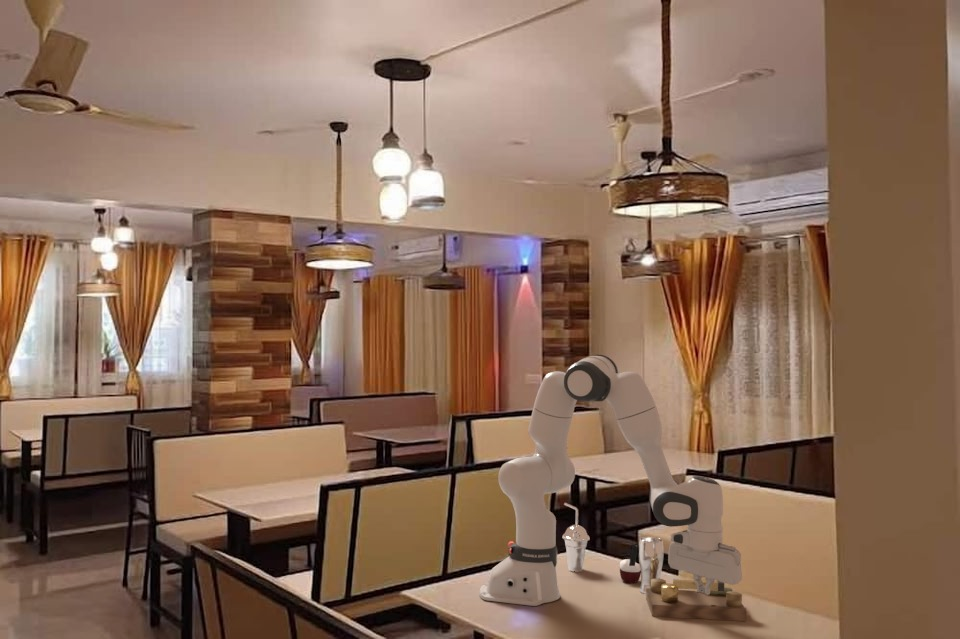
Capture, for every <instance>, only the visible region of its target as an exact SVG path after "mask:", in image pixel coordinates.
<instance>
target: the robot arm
mask: <svg viewBox="0 0 960 639" xmlns="http://www.w3.org/2000/svg"><path fill="white" fill-rule="evenodd" d="M578 401H579V402H585V403H586V402H587V403H590V402H603V401H607V403H608V404H609V405H610V407H611V409H612V411H613V414H614V417H615V419H616V423H617V426H618V427H619V430H620V432H621V433H622V435H623V437H624V439H625V441H626V442H627V443H628V445H629V446H631V447H632V449H634V450H635V452H636V453H637V454H638V457H639V459H640V460H641V462H642V466H643V468H644V472H645V474H646V477H647V479H648V482H649V485H650V486H649V504H650V507H651V509H652V512H653V513H652V514H653V515H654V518H655V520H657V521H658V522H659V523H660V524H662V525H664V526H666V527H671V528H672V527H684V526H686V527H687V529H686V530H683V531H677V532H674V533H671V534H670V541H671V542H670V544H669V546H668V547H669V548H668V556H667V558H668V559H667V561H668V562H667V563H668V566H669V567H670V569H674V570H677V571H681V572H683V573H688V574H691V575H693V576H692V580H694V581H695V583H696V585H697V590H696V591H697V592H699V593H702V594H705V595H709V594H710V587H711V586H712V585H713V583H714V582H715V581H720V582H723V583H724V584H728V585H730V586H731V585H732V586H733V585H737V584H740V582H741V581H742V578H743V576H742V575H743V572H742V564H741V562H742V561H741V560H742V559H741V557H742V554H741V552H740V551H739V550H738V549H737V548H736V547H735V546H732V545H728V544H723V525H722V524H723V523H722V517H723V514H724V497H723V490H722V486H721V485H720V483H719V482H718V481H716V480H715V479H712V478H710V477H707V476H703V475H702V476H701V475H695V476H694V475H693V476H691V477H690V478H689V479H687V480H686V481H684V482H681V483H678V482H677V480H676V479H674V477H673V475H672V472H671V470H670V468H669V465H668V463H667V460H666V457H665V454H664V451H663V448H662V447H663V446H662V435H663V429H662V422H661V418H660V414H659V410H658V407H657V406H656V403H655V400H654V397H653V396H652V393H651V391H650V390H649V387H648V385H647V384H646V382H645V380H644V379H643V377H642V376H641V374H639V373H638V372H636V371H629V370H628V371H623V372H619V371H618V367H617V364H616V363H615V361H614V360H613V359H611V358H610V357H608V355H604V354H592V355H590V356H586V357H584V358H581V359H579V361H577V362H574V363H573V364H571V365H570V366H569V367H568V369H567V370H566V372H564V371H558V370H555V371H551V372H548V373H547V374H546V375H545V376H543V379H542V381H541V384H540V386H539V388H538V390H537V394H536V397H535V400H534V403H533V407H532V412H531V416H530V420H529V424H528V428H527V432H528V436H529V438H530V439H531V440H532V441H533V442H534V444H535V446H534V447H535V450H534V454H533V455H531V456H521V457H517V458H514V459H511V460H509V461H506V462H505V463H503V464H502V465H501V467H500V469H499V471H498V477H497V478H498V480H497V482H498V484H499V487H500V490H501V491H502V493H503V494H505V495H506V496H507V497H508V498H509V500H510V502H511V504H512V507H513V509H514V513H515V514H514V515H515V525H516V526H515V528H516V530H515V531H516V532H515V542H514V541H511V540H510V541H509V542H508V544H507V549H508V556H507V557H506V558H504V559H503V560H502V561H500V562H499V563H498V564H496V565H495V566H494V567H492V568H491V570H490V573H489V576H488V579H487V582H485V583H484V584H482V585H481V586H480V588H479V597H480V598H481V599H482V600H484V601H489V602H491V601H492V602H497V603H507V604H514V605H523V606H524V605H525V606H533V607H536V606H541V604H546V603H552V602H555V601H557V600H559V599H560V598H561V593H560V590H559V586H558V579H557V578H558V577H557V564H558V546H557V544H556V537H557V534H556V532H557V531H556V530H557V527H556V526H557V520H556V519H557V518H556V516H555V515H554V513H553V512H551V511H550V510H548V509H547V505H546V502H545V495H548V494H554V493H555V494H556V493H559V492H561V491H563V490H565V489H567V488H569V487H570V486H571V485H572V484H573V482H574V481H575V477H576V470H575V465H574V463H573V461H572V460H571V459H570V458H569V455H568V447H567V446H568V438H569V433H570V429H571V423H572V419H573V416H574V412H575V407H576V404H577V402H578ZM702 578H705V580H704V581H706V582H707V584H706V586H705V585H703V583H702V581H703V580H702Z"/></svg>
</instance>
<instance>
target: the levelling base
mask: <svg viewBox="0 0 960 639" xmlns="http://www.w3.org/2000/svg"><path fill="white" fill-rule="evenodd" d="M666 583H667V581H666V580H665V579H664V578H663V579H662V578H660V579H657V578H656V579H651V588H646V594H645V600H646V602H647V606H648V609H649V612H650V614H651V617H663V618H681V619H682V618H683V619H698V620H700V619H701V620H702V619H703V620H719V621H720V620H721V621H736V622H737V621H738V622H739V621H741V622H746V621H747V609H746V607H745V606H744V604H743V598H742V597H743V593H741V592H738V591H735V590H734V591H733V589H732V588H731V587H727V586H726V587H725V586H724V591H712V590H710V594H709V595H705V594H702V593H699V592H697V590H692V589H678V601H677V602H666V601H663V600H661V585H662V584H666Z"/></svg>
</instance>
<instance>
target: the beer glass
mask: <svg viewBox="0 0 960 639" xmlns="http://www.w3.org/2000/svg"><path fill="white" fill-rule="evenodd" d="M664 555H665V554H664V539H662V538H661V537H657V536H642V537H639V544H638V562H639V563H638V564H640V570H641V575H640V578H641V579H640V585H639V592H640V593H641V594H644V595H646V588H651V579H656V578H657V579H661V574H662V569H663V564H664Z"/></svg>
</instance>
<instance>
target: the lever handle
mask: <svg viewBox="0 0 960 639" xmlns="http://www.w3.org/2000/svg"><path fill="white" fill-rule="evenodd" d="M672 581H673V582H672V583H667V582H666V584H662V585H661V600H663V601H666V602H677V601H678V590H691V591H697V585H696V583H695V581H694V579H675V578H674V579H672ZM701 581H702V583H703V585H705V586H706V584H707V582H706V581H705V580H701ZM724 587H725V583H723V582H720V581H716V580H715V582H714V583H713V585H712V586H711V587H710V590H712V591H724Z"/></svg>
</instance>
